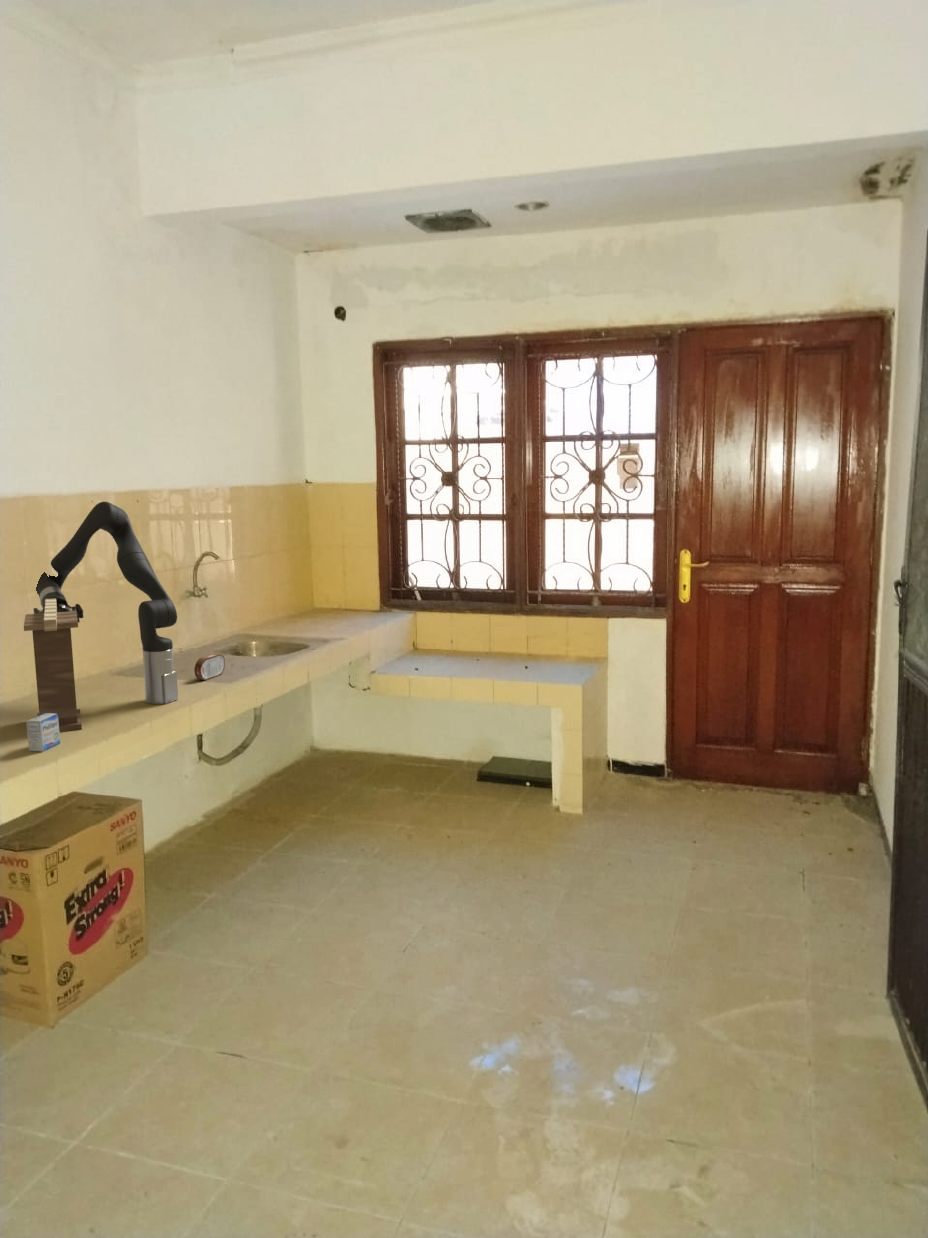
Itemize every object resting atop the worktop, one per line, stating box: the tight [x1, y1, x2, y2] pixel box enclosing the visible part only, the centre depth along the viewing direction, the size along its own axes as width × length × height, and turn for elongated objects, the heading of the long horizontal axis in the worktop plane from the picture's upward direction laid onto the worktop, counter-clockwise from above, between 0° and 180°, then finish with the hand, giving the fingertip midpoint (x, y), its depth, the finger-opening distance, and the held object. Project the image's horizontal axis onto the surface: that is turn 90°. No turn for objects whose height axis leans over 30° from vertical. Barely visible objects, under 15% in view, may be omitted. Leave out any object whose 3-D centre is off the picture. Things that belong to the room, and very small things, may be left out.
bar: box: [44, 598, 57, 631], centre depth 264 cm, size 40×3×3 cm, turn 24°
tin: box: [194, 652, 226, 681], centre depth 327 cm, size 15×3×8 cm, turn 159°
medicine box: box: [25, 713, 61, 753], centre depth 248 cm, size 8×4×9 cm, turn 170°
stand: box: [23, 611, 83, 733], centre depth 268 cm, size 20×14×32 cm
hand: (62, 623), depth 285 cm, fingers open, 8 cm apart
